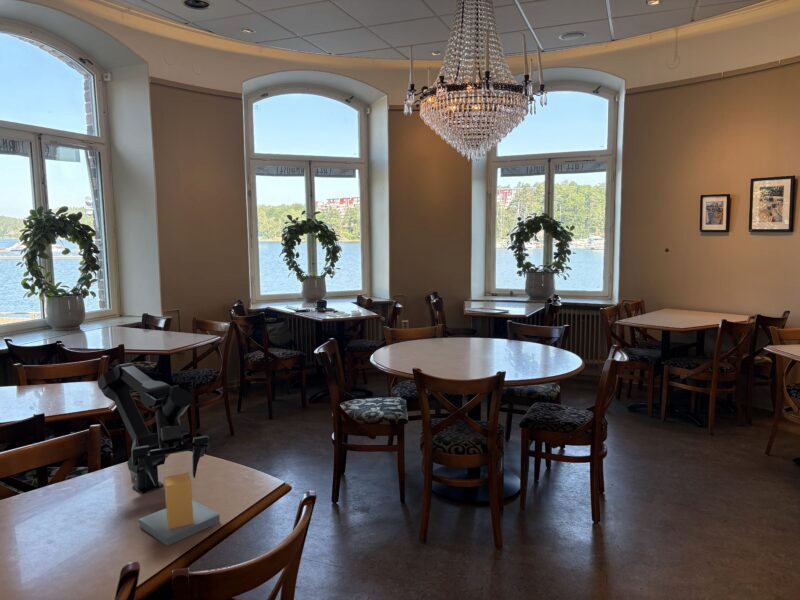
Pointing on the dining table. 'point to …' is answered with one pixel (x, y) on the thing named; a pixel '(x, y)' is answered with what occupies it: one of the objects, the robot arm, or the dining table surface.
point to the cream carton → (178, 500)
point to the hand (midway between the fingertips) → (175, 481)
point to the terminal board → (160, 530)
